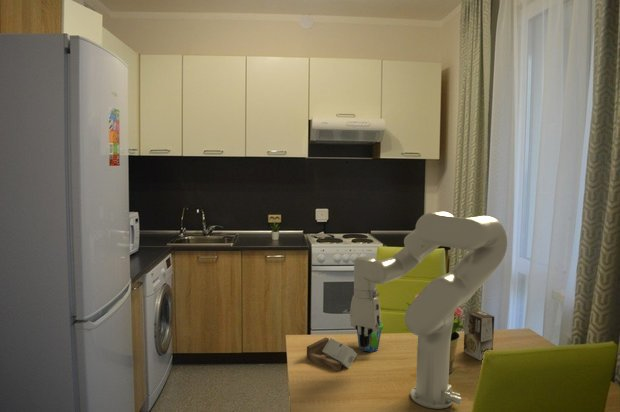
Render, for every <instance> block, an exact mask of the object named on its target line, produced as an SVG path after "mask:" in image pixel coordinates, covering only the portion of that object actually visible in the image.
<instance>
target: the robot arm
mask: <svg viewBox="0 0 620 412" xmlns="http://www.w3.org/2000/svg"><path fill="white" fill-rule="evenodd" d="M403 244H404V246H403V247H402V249H400V250H399V251H398V252H397V253H395V254H394V255H392V256H391V257H387V258H383V259H379V260H376V259H375V258H374V257H372V256H358V257H356V258H355V259H354V261H353V295H352V298H351V301H350V302H351V303H350V308H349V310H350V311H349V320H350V327H353V328H355V329H356V332H357V331H358V334H359V335H360V346H361V347H364V348H365V347H366V346H368V345H369V343H370V334H371V333H372V332H378V331H379V326H380V325H381V323H382V314H381V313H382V312H381V311H382V310H381V304H380V301H379V297H380V292H378V291H377V284H378V285H384V284H386V283H387V284H388V283H390V282H392V281H395V280H398V279H401V278H403V277H404V276H406V274H409V272H411V271H413V269H415V268H417V266H418V265H419V264H420V263H422V261H423V260H424V259H425V258H426V257H427V256H429V255H430V254H431V253H433V252H434V251H436V250H437V249H438V248H439V247H447V248H451V249H453V248H454V249H458V250H464V251H465V250H466V251H468V252H467V253H466V254H465V255H464V256H463V257H462V258H461V259H460V261H459V262H458V263H457V264H456V265H455V266H454V267H453V269H451V270H450V271H449V272H447V273H444V274H443V275H441V276H438V277H436V278H434V279H432V280H431V281H429V282H428V283H427V284H426V286H425V287H424V288H423V289H422V290H421V292H420V293H419V294H418V295H417V296H416V297H415V298H414V299H413V300H412V302H411V303H410V304H409V305H408V307H407V309H406V311H405V313H404V323H405V327H406V329H407V330H409V332H410V333H411V334H412V335H415V336H417V347H416V348H417V349H416V351H417V352H416V371H415V373H416V374H415V375H416V376H415V377H416V378H415V386H414V387H412V389H410V393H409V395H410V398H411V399H412V400H413V401H414V402H415V403H416V404H417V405H420V406H421V407H425V408H429V409H435V410H440V409H447V408H449V407H451V406H452V405H453V404H454V403H455V404H458V405H462V401H463V398H462V397H461V393H460V392H459V393H458V392H455V391H453V389H452V385H451V384H449V382H450V381H449V379H450V377H449V376H450V373H449V372H450V356H451V353H450V352H451V340H452V331H453V327H454V321H455V310H456V309H458V308H459V307H462V306H464V304H467V302H469V301H470V299H472V297H473V295H474V294H475V293H476V292H477V291H478V290H479V289H480V287H482V286H483V284H485V282H486V281H487V280H488V279H489V277H491V275H492V274H493V273H495V271H496V270H497V268H499V266H500V264H501V263H502V261H503V259H504V258H505V256H506V252H507V249H508V237H507V233H506V230H505V227H504V226H503V224H502V223H501V222H500V221H499V220H498V219H496V218H495V217H492V216H488V215H477V216H473V217H459V216H454V215H453V214H452V213H450V212H447V211H444V210H443V211H434V212H428V213H425V214H423V215H421V216H420V217H419V218H418V219H417V221H416V224H415V228H414V229H413V231H411V232H410V233H408V234H407V235H406V236H405V237H404V238H403Z"/></svg>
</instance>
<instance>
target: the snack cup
mask: <svg viewBox="0 0 620 412" xmlns="http://www.w3.org/2000/svg"><path fill="white" fill-rule="evenodd" d="M383 325H384V324H383V322H381V325H380V326H379V331H378V332H372V333H371V334H370V343H369V345H368V346H366V347H365V348H364V347H361V346H360V335H359V334H358V331H357V330H356V334H357V343H358V348H359V349H360V350H361V351H365V352H370V353H373V352H376V351H377V350H379V347H380V339H381V336H382V330H383V328H384V326H383Z"/></svg>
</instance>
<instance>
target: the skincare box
mask: <svg viewBox="0 0 620 412" xmlns="http://www.w3.org/2000/svg"><path fill="white" fill-rule="evenodd" d="M322 352H323V353H324V354H325V357H326V358H329V359H332V360H335V361H338V362H341V366H343V367H345V368H347V369H349V368H350V367H351V366H352V364H353V363H354V362H355V361H354V359H355V357H356V358H357V356H358V353H356V352H355V350H354V349H353V348H351V347H350V346H347V345H346V344H344V343H341V342H339V341H337V340H336V339H333V338H331V337H330V338H329V341H328V343H327V344H326V346H325V347H324V349H323V350H322ZM324 354H323V355H324ZM353 361H354V362H353Z"/></svg>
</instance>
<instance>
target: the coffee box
mask: <svg viewBox="0 0 620 412" xmlns="http://www.w3.org/2000/svg"><path fill="white" fill-rule="evenodd" d="M494 333H495V315H492V314H489V313H487V312H484V311H482V310H479V309H473V310H466V311H464V330H463V353H465V354H467V355H469V356H471V357H473V358H475V359H476V360H479V361H483V360H482V359H483V355H484V352H485V351H486V350H494V335H495V334H494Z"/></svg>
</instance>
